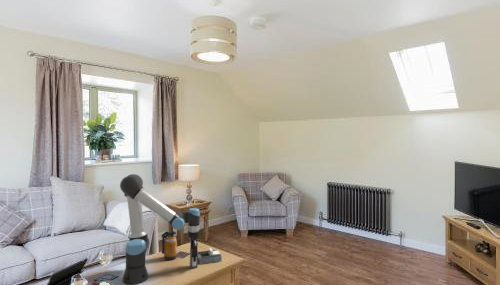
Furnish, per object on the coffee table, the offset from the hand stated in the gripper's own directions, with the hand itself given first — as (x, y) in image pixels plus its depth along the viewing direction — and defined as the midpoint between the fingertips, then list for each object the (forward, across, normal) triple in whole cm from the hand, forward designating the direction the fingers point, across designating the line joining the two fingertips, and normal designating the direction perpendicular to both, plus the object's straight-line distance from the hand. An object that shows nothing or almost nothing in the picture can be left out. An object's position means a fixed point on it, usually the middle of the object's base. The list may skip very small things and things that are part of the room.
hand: (193, 264), depth 214 cm
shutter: (-2, +9, -17) cm, 20 cm away
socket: (+2, +9, -12) cm, 15 cm away
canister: (+2, +22, +14) cm, 26 cm away
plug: (+2, 0, 0) cm, 2 cm away
